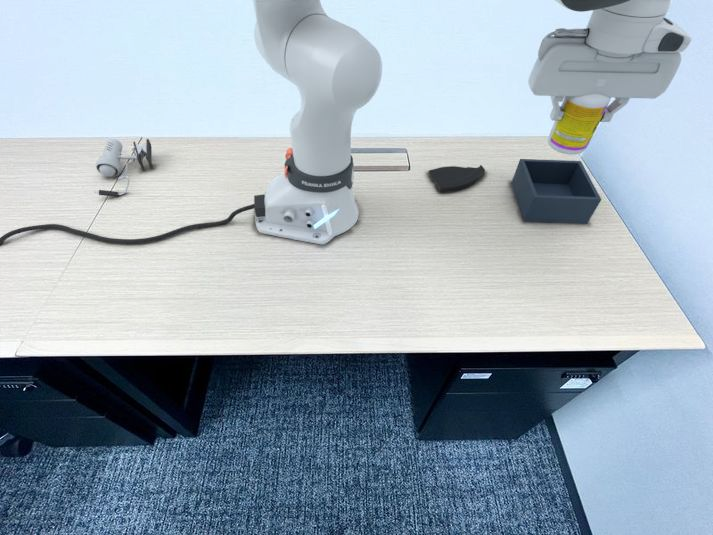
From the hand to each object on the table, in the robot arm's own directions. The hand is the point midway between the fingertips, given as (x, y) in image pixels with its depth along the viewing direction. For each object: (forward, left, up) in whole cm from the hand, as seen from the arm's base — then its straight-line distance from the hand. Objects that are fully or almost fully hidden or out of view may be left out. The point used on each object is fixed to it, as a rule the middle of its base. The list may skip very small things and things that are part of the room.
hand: (579, 119), depth 67 cm
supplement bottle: (0, 0, -5) cm, 5 cm away
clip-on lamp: (-94, +12, -25) cm, 98 cm away
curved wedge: (-14, +15, -25) cm, 32 cm away
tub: (+6, +8, -25) cm, 26 cm away
